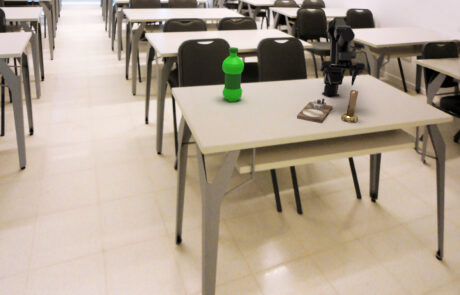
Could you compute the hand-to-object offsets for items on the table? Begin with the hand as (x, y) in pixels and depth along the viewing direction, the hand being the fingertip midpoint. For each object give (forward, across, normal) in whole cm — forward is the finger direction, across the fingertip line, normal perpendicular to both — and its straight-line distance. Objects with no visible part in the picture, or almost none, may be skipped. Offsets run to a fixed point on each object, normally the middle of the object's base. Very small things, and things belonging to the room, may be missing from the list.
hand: (341, 84), depth 165 cm
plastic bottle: (+5, -50, +16) cm, 52 cm away
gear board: (+12, -10, +6) cm, 17 cm away
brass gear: (+15, +4, +2) cm, 16 cm away
